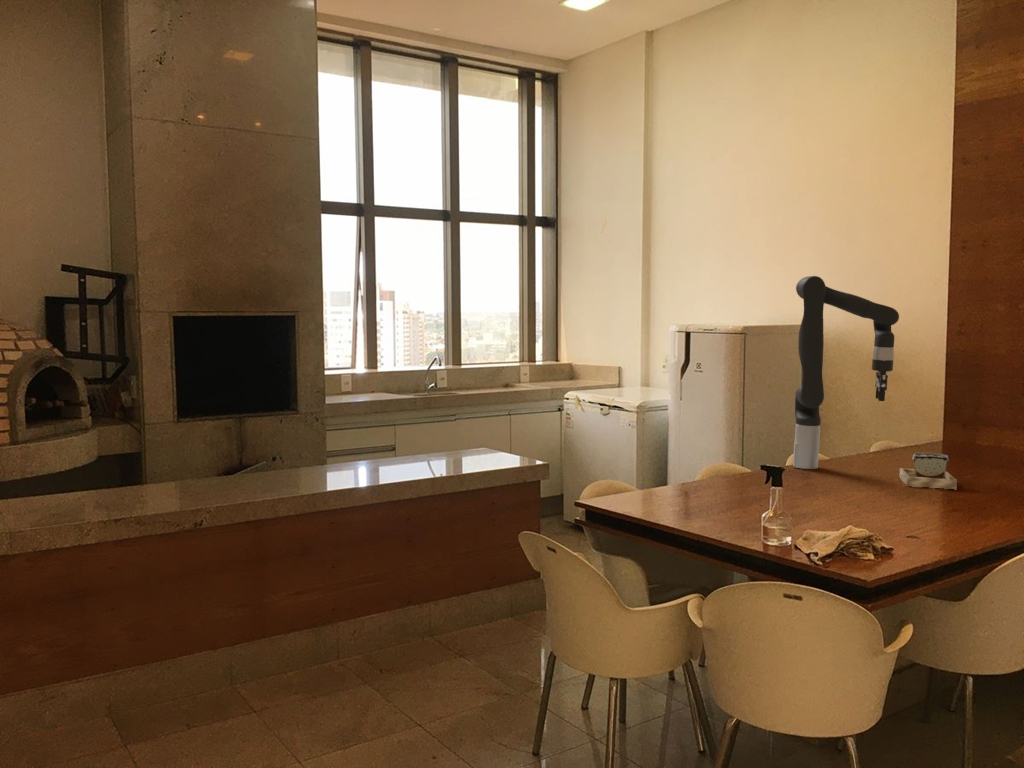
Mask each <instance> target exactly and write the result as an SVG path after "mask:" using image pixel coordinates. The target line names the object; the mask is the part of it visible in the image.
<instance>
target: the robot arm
mask: <svg viewBox="0 0 1024 768" xmlns="http://www.w3.org/2000/svg"><path fill="white" fill-rule="evenodd" d="M795 291H796V294H797V295H798V297H800V298H801V299H803V316H802V319H801V323H800V327H799V329H798V330H799V331H798V347H797V348H798V349H797V350H798V356H799V357H798V358H799V361H800V366H801V371H802V381H801V385H800V386H799V387H797V389H796V392H795V399H794V400H795V401H794V405H795V406H794V417H795V427H794V428H795V430H794V442H793V455H792V456H793V458H792V465H793V468H798V469H803V470H816V469H819V457H820V456H819V455H820V441H821V440H820V437H821V416H820V406H821V405H822V403H823V402H824V399H825V390H824V380H823V365H824V343H825V342H824V340H825V339H824V338H825V337H824V336H825V335H824V306H825V304H826V305H829V306H831V307H834V308H837V309H839V310H842V311H845V312H847V313H850V314H851V315H855V316H858V317H860V318H863V319H869V320H872V321H873V331H874V341H873V343H874V345H873V350H872V360H871V361H872V362H871V370H872V371H874V372H875V371H876V372H875V381H874V384H875V385H874V386H875V399H877V400H878V402H885V399H886V392H887V391H888V388H887V387H888V378H889V375H888V374H887V372H892V371H893V370H894V359H895V357H894V356H895V351H894V350H895V349H894V347H895V334H894V333H893V332H892V326H894V325H895V324H897V323H898V322H899V319H900V314H899V312H898V310H896V309H895V308H894V307H891V306H888V305H885V304H881V303H877V302H873V301H872V300H869V299H866V298H864V297H861V296H858V295H855V294H852V293H849V292H848V293H847V292H845V291H841V290H837V289H834V288H831V287H829V286H826V283H825V281H824V279H822V278H821V277H819V276H817V275H812V276H811V275H810V276H805V277H802V278H801V279H800V280H798V282H797V283H796V286H795Z"/></svg>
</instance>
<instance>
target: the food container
mask: <svg viewBox="0 0 1024 768" xmlns="http://www.w3.org/2000/svg"><path fill="white" fill-rule="evenodd" d="M912 460H913V462H914V463H913V464H914V469H915V477H924V478H937V479H944V476H945V472H946V470H947V465H948V462H950V459H949V455H947V454H943V453H937V452H936V453H935V452H929V451H928V452H926V451H924V452H922V451H919V452H914V454H913V455H912Z"/></svg>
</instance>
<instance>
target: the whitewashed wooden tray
mask: <svg viewBox="0 0 1024 768" xmlns="http://www.w3.org/2000/svg"><path fill="white" fill-rule="evenodd" d="M899 477H900V478H899V479H900V480H901V481H902V482H903V484H905V486H906V487H909V486H912V487H911V488H922V487H929V488H928V489H935V488H944V489H943V490H948V489H954V490H953V491H957V489H958V487H957V486H958V480H957V479H956V478H955V477H954V476H953V475H951V474H950V473H949V472H948V471H945V476H944V479H937V478H924V477H915V468H914V469H913V468H901V467H900V468H899Z"/></svg>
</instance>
